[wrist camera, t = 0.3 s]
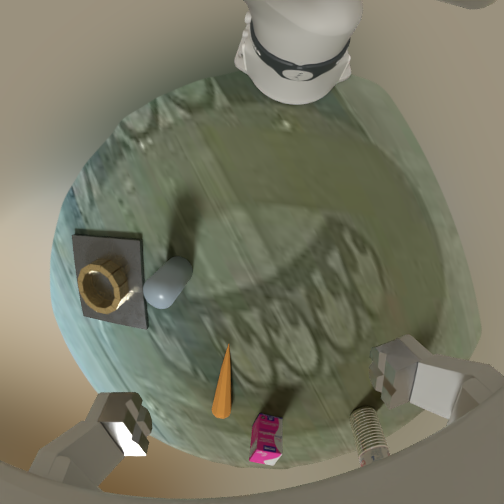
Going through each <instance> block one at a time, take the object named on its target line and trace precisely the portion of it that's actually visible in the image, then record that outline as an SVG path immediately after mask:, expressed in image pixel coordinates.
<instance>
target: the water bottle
mask: <svg viewBox="0 0 504 504" xmlns="http://www.w3.org/2000/svg"><path fill="white" fill-rule="evenodd" d="M350 424H351V429H352V432H353V437H354V441H355V446H356V450H357V454H358V458H359V460H360V465H361V467H363V466H366V465H368V464H371V463H373V462H376V461H378V460H381V459H383V458H385V457H388V456H390V453H389V450H388V445H387V442H386V439H385V436H384V433H383V430H382V427H381V424H380V421H379V418H378V415H377V413H376V411H375V409H374V408H373V407H371V406H363V407H360V408H358V409H356V410H355V411H353V412H352V413H351V415H350Z"/></svg>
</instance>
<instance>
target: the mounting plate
mask: <svg viewBox="0 0 504 504" xmlns="http://www.w3.org/2000/svg"><path fill="white" fill-rule="evenodd" d="M72 241H73V251H74V260H75V268H76V275H77V282H78V277H79V274H80V271H81V269H82V268H84V267H85V266H87V265H88V264H90V263H92V262H94V261H95V260H97V259H99V258H101V259H110V260H111V261H113V262H114V263H115V264H117V265H118V266H119V267H120V268H121V269H122V271H123V273H124V274H125V276H126V278H127V280H128V290H129V292H128V295H127V297H126V300H125V302H124V303H123V304H122V305H121V306H120V307H119V308H118V309H117V310H116V311H113V312H111V313H109V314H103V313H99V312H97V311H94V310H93V309H92V308H91V307H89V306H88V305H87V303H85V301H84V299H83V298H82V296H81V294H80V292H79V294H80V300H81V305H82V310H83V315H84V316H86V317H90V318H94V319H98V320H103V321H107V322H112V323H116V324H121V325H126V326H131V327H136V328H141V329H146V330H147V329H148V327H149V326H148V317H147V307H146V299H145V296H144V293H143V286H144V269H143V250H142V239H131V238H119V237H106V236H94V235H81V234H74V235H72ZM92 281H93V286H94V288H95V289H96V291H97V293H98V294H99V295H100V296H102V297H103V298H104V299H107V300H112V301H114V298H115V296H114V288H113V286H112V284H111V283H110V281H109V279H108V278H107V277H106V276H105V275H103V274H102V273H101V272H98V271H93V274H92ZM78 288H79V287H78Z"/></svg>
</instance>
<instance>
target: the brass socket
mask: <svg viewBox="0 0 504 504" xmlns="http://www.w3.org/2000/svg"><path fill="white" fill-rule="evenodd" d="M93 271H98V272H101V273H102V274H103V275H105V276H106V277H107V278H108V279H109V281H110V283H111V284H112V286H113V288H114V296H115V298H114V301H112V300H107V299H104V298H103V297H102V296H100V295H99V294H98V293H97V291H96V289H95V288H94V286H93V281H92V274H93ZM78 287H79V292H80V294H81V296H82V298H83V299H84V301H85V303H87V305H88V306H89V307H91V308H92V309H93V310H94V311H97V312H99V313H103V314H109V313H111V312H113V311H116V310H117V309H118V308H119V307H120V306H121V305H122V304H123V303H124V302H125V300H126V297H127V295H128V292H129V290H128V280H127V278H126V276H125V274H124V273H123V271H122V269H121V268H120V267H119V266H118V265H117V264H115V263H114V262H113V261H111V260H110V259H101V258H99V259H97V260H95V261H94V262H92V263H90V264H88V265H87V266H85V267H84V268H82V269H81V271H80V274H79V277H78Z"/></svg>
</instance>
